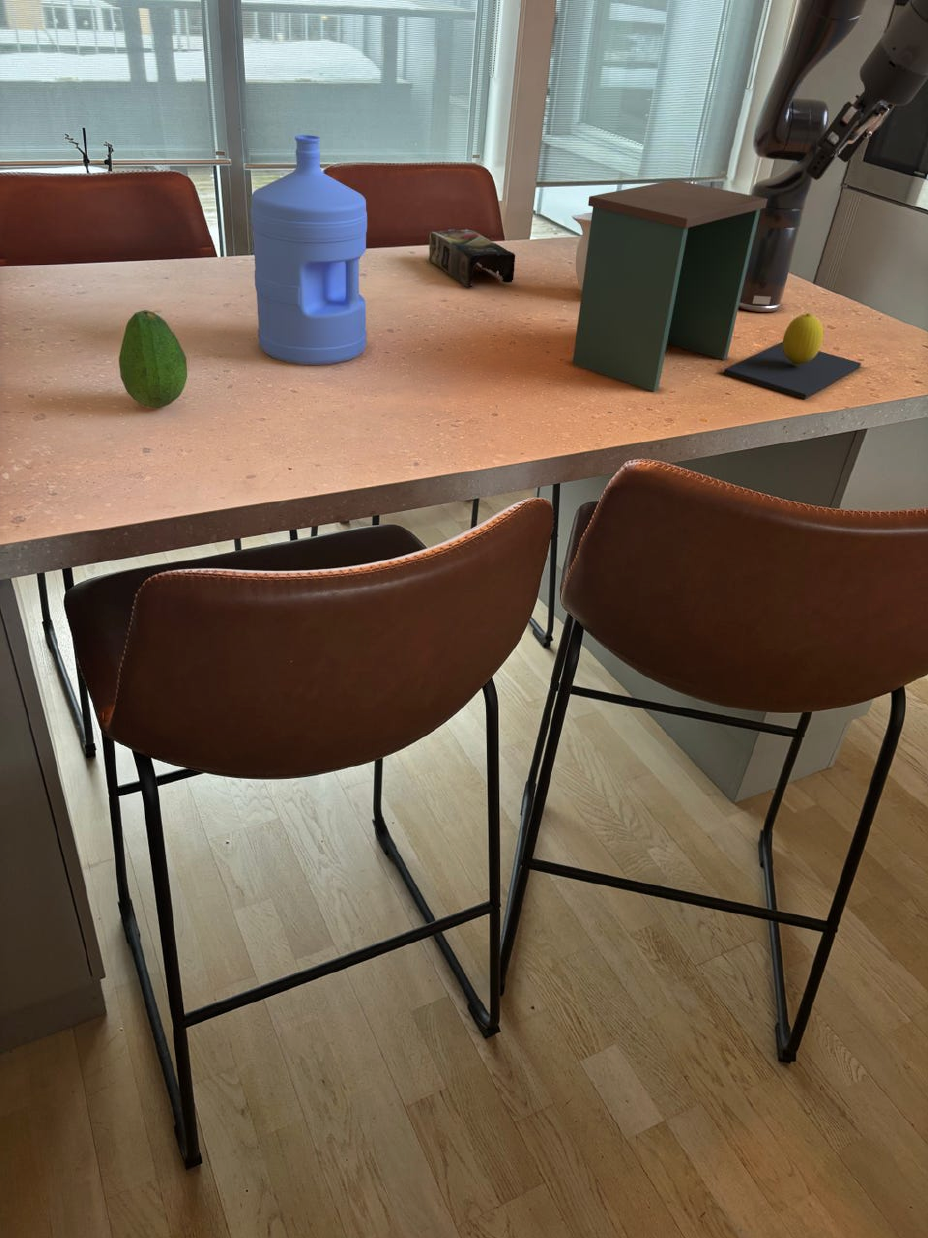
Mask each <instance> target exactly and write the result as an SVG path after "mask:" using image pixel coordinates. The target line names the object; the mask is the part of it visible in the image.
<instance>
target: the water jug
mask: <svg viewBox="0 0 928 1238" xmlns="http://www.w3.org/2000/svg"><path fill="white" fill-rule="evenodd" d="M294 140H295V142H296V149H295V157H296V159H295V160H296V165H295V169H294V170H293V171H291V172H290V173H288V174H285V175H284V176H282V177H280V178H277V179H276V180H273V181H271V182H269V183H268V184H266V185H263V186H262V187H260V188H259V187H258V188H257V189H255V190H254V191H253V192H252V194H251V197H250V199H251V200H250V202H251V203H250V204H251V207H250V222H251V228H252V236H253V252H254V253H253V255H254V285H255V286H254V287H255V290H256V302H257V304H256V305H257V321H258V329H257V337H258V338H257V339H258V345H259V347H260V349H261V350H262V351H263V352H264V353H265V354H266V355H268V356H269V357H271V358H274V359H277V360H279V361H283V362H285V363H290V364H295V365H296V364H297V365H309V366H320V365H321V366H322V365H324V366H325V365H333V364H334V365H335V364H340V363H344V362H348V361H350V360H353V359H355V358H357V357H359V356H360V355H361V354H362V353H364V351H365V349H366V348H367V344H368V343H367V342H368V341H367V338H368V337H367V335H368V334H367V330H366V329H367V328H366V324H367V323H366V321H367V319H366V317H367V315H366V314H367V313H366V311H367V309H366V308H367V307H366V306H367V302H366V299H365V297H364V296H363V295H361V294H360V259H361V257H362V256H363V255H364V254H365V252H366V251H367V231H368V213H367V200H366V198H365V196H363V194H361V193H360V192H358V191H356V190H354V189H353V188H351V187H349V186H347V185H346V184H344V183H342V182H340V181H338V180H337V179H335V178H333V177H331V176H330V175H327V174H326V173H324V172H323V170H322V169H321V165H320V162H321V161H320V157H321V151H320V149H319V147H320V146H319V143H320V141H321V138H320V137H319V136H317V135H310V134H309V135H308V134H300V135H295V136H294Z"/></svg>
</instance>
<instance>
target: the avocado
mask: <svg viewBox="0 0 928 1238" xmlns="http://www.w3.org/2000/svg"><path fill="white" fill-rule="evenodd" d="M118 366H119V367H118V368H119V374H120V380H121V382H122V384H123V386H124V388H125V391H126V392H127V394H128V395H129V396H130V397H131V398H132V399H133V400H134V401H135V402H136V403H137V404H139V405H140V406H142V407H145V408H148V409H162V408H165V407H167V406H170V405H171V404H173V402H174V401H176V400H177V399H178V398H179V397H180V396H181V395H182V392H183V391H184V389H185V387H186V383H187V379H188V363H187V357H186V354H185V352H184V349H183V348H182V345H181V344H180V341H179V340H178V338H177V336H176V335H175V333H174V332H173V330H172V329H171V327H170V325H169V324H168V323H167V322H166V320H165V319H163V318H162V317H161V316H159V315H158V313H155V312H153V311H150V310H146V309H144V310H140V311H137V312H135V313H134V314H133V315H132V316H131V317H130V319H129V320H128V322H127V323H126V327H125V331H124V334H123V339H122V342H121V347H120V351H119V355H118Z"/></svg>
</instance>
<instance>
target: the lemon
mask: <svg viewBox="0 0 928 1238" xmlns="http://www.w3.org/2000/svg"><path fill="white" fill-rule="evenodd" d="M785 329H786V330H785V332H784V335H783V337H782V342H783V352H784V355H785V356H786V358H787V359H789V360H790V361H791V362H792V364H793V365H794V366H799V365H800V364H801V363H805V362H808V361H810V360H811V359H813V358H814V357H815V356H816V354H817V353H818V351H820V349H821V346H822V344H823V338H824V327H823V325H822V323H821V321H820V320H819V319H818V318H817V317H815V316H814V315H813V313H810V312H807V313H806V314H802V315H799V316H797V317H795V318H794V319H792V321H791V322H790V323H789V324H788V325H787V328H785Z"/></svg>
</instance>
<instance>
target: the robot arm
mask: <svg viewBox="0 0 928 1238" xmlns="http://www.w3.org/2000/svg"><path fill="white" fill-rule="evenodd" d="M868 1H869V0H800V1H799V4H798V7H797V11H796V14H795V18H794V21H793V23H792V27H791V30H790V33H789V37H788V39H787V42H786V46H785V49H784V52H783V54H782V57H781V60H780V62H779V64H778V67H777V70H776V72H775V74H774V77H773V80H772V82H771V84H770V87H769V90H768V91H767V94H766V96H765V98H764V101H763V104H762V106H761V109H760V112H759V114H758V115H759V116H758V118H757V120H756V123H755V128H754V132H753V139H752V140H753V141H752V143H753V144H752V145H753V151H754V154H755V155H756V156H757V157H759V158H762V159H766V160H776V161H789V162H790V165H789V166H788V167H787V168H786V169H784V170H783V171H782V172H780V173H778V174H776V175H774V176H771V177H768V178H765V179H761V180H758V181H757V182H755V184H754V185H753V186H752V188H751V192H750V195H751V196H756V197H761V198H766V199H767V204H766V207H765V208H762V209H760V214H759V218H758V223H757V227H756V231H755V236H754V240H753V245H752V249H751V254H750V258H749V262H748V267H747V271H746V276H745V280H744V285H743V289H742V294H741V298H740V302H739V307H738V309H741V310H744V311H749V312H757V313H772V312H777V311H780V309H781V306H782V300H783V295H784V290H785V288H786V283H787V280H788V275H789V271H790V268H791V263H792V259H793V256H794V252H795V248H796V244H797V240H798V235H799V232H800V227H801V223H802V219H803V215H804V213H805V208H806V203H807V199H808V197H809V194H810V191H811V188H812V184H813V181H814V180H815V181H818V180H819V179H821V178H822V177H823V176H824V175H825V173H826V172H827V170H828V169H829V168H830V166H831V165H832V164H833V162H834V161H835V160H836V158H838V159H839V160H841V161H842V162H843V163H847V162H849V161H851V159H852V158H853V157H854V155H855V154H856V153H857V151H858V149H859V148H861V146H862V144H863V143H864V142H865V140H866V139H868V138H869V137H872V135H873V133H874V131H875V132H876V131H878V130H879V129H881V127H882V125H883V124H884V122H885V121H886V120H887V118H888V116H889V115H890V114H891V112H892V111H893V109H894V108H895V107H896V106H898V107H899V106H905V105H908V104H909V103H911V101H912V100H913V99H914V98H915V96H916V95H917V94H918V93H919V91H920V90H921V89H922V87H923V86H924V85H925V83H926V82H927V80H928V0H908V1H907V3H906V4H905V5H904V6H903V7H902V9H901V10H900V11H899V12H898V13H897V14H896V16H895V17H894V18H893V20H892V21H891V23H890V24H889V26H888V27H887V29H886V30H885V32H884V33H883V35H882V36H881V38H880V39H879V41H878V42H877V43H876V45H875V46H874V48H873V49H872V51H871V52H870V53H869V55H868V56H867V58H866V60H865V61H863V64H862V66H861V67H860V69H859V79H860V80H861V82H862V84H863V88H864V90H863V92H862V93H861V94H856V95H855V96H854V97H853V98H852V99H851V100H850V101H847V102H845V103H844V104H843V106H842V108H841V109H840V110H839V112H838V113H837V115H836V117H835V118H834V119H833V121H832V122H831V123H830V107H829V104H828V103H827V102H826V101H825V100H824V99H820V98H809V97H796V94H797V92H798V91H799V89H800V87H801V86H802V85H803V83H804V81H805V80H806V79H807V77H808V76H809V75H810V74H812V73H811V72H813V70H814V69H816V67H818V66H819V64H820V63H822V62H823V61H824V60H825V59H826V58H827V57H828V56H829V55H831V53H833V52H834V51H835V50H836V49H837V48H839V46H840V45H841V44H842V43H844V41H845V40H846V39H847V38H848V37H849V36H850V35H851V34H852V33H853V31H854V30H855V29H856V27H857V26H858V24H859V23H860V21H861V18H862V17H863V14H864V11H865V10H866V9H865V8H866V6H867V4H868ZM829 123H830V125H829ZM836 136H837V137H838V140H837V141H836V142H834V141H833V139H834V138H835V137H836Z"/></svg>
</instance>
